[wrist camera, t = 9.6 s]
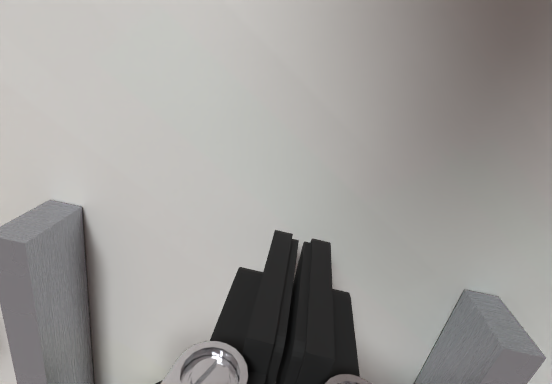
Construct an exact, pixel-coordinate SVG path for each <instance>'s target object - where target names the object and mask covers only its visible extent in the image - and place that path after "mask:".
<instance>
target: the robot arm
mask: <svg viewBox="0 0 552 384" xmlns="http://www.w3.org/2000/svg"><path fill="white" fill-rule="evenodd" d="M292 235H293V234H290V233H286V232H282V231H277V230H275V232H274V236H273V240H272V243H271V247H270V250H269V254H268V258H267V261H266V265H265V269H264V272H259V271H255V270H251V269H246V268H242V267H239V269H238V271H237V274H236V276H235V279H234V281H233V284H232V286H231V289H230V291H229V294H228V296H227V299H226V301H225V304H224V306H223V309H222V311H221V314H220V316H219V319H218V322H217V324H216V327H215V329H214V332H213V334H212V337H211V339H210V341H205V342H201V343H198V344H195V345H193V346H191V347H190V348H188V349H186V350H185V351H184V352H183V353H182V354H181V355H180V356H179V358H178V359H177V360H176V362H175V363H174V365H173V366H172V368H171V369H170V370H169V372H168V373H167V375H166V376H165V378H164V379H163V380H162V381H160V382H158V383H156V384H372V383H370V382H368V381H367V380H365V379H363V378H361V377H360V376H359V367H358V359H357V350H356V341H355V332H354V323H353V314H352V305H351V297H350V294H349V293H348V292H344V291H339V290H335V289H332V269H331V244H330V242H325V241H321V240H316V239H312V240H311V243H308V242H304V243H303V247H302V251H301V255H300V259H299V263H298V266H297V270H296V274H295V278H294V272H295V265H296V257H297V250H298V242H299V240H295V239H292ZM293 280H294V282H293Z"/></svg>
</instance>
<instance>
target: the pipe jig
mask: <svg viewBox="0 0 552 384" xmlns="http://www.w3.org/2000/svg"><path fill="white" fill-rule="evenodd" d="M0 305H1V310H2V314H3V319H4V324H5V328H6V333H7V338H8V342H9V347H10V352H11V356H12V361H13V366H14V371H15V375H16V380H17V384H94V378H93V364H92V349H91V334H90V320H89V305H88V290H87V276H86V261H85V247H84V232H83V217H82V207H81V206H76V205H72V204H67V203H63V202H58V201H53V200H49V201H47V202H45V203H43V204H41V205H39V206H37V207H36V208H34V209H32V210H30V211H28V212H26V213H25V214H23V215H21V216H19V217H17V218H15V219H14V220H12V221H10V222H8V223H6V224H4V225H3V226H1V227H0ZM545 359H546V357H545V356H544V354H543V353H542V352H541V351H540V349H539V348H538V347H537V345H536V344H535V343H534V342H533V340H532V339H531V338H530V336H529V335H528V334H527V333H526V331H525V330H524V329H523V327H522V326H521V325H520V324H519V322H518V321H517V320H516V318H515V317H514V316H513V315H512V313H511V312H510V311H509V309H508V308H507V307H506V306H505V304H504V303H503V302H502V300H501V299H500V298H499V297H497V296H493V295H488V294H484V293H479V292H474V291H470V290H464V292H463V294H462V296H461V298H460V299H459V301H458V303H457V305H456V307H455V309H454V311H453V312H452V314H451V316H450V318H449V320H448V322H447V324H446V325H445V327H444V329H443V331H442V333H441V335H440V337H439V339H438V340H437V342H436V344H435V346H434V348H433V350H432V352H431V353H430V355H429V357H428V359H427V361H426V363H425V365H424V366H423V368H422V370H421V372H420V374H419V376H418V378H417V380H416V381H415V383H414V384H527V383H528V382H529V380H530V379H531V378H532V376H533V375H534V374H535V372H536V371H537V370H538V368H539V367H540V366H541V364H542V363H543V362H544V360H545Z"/></svg>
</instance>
